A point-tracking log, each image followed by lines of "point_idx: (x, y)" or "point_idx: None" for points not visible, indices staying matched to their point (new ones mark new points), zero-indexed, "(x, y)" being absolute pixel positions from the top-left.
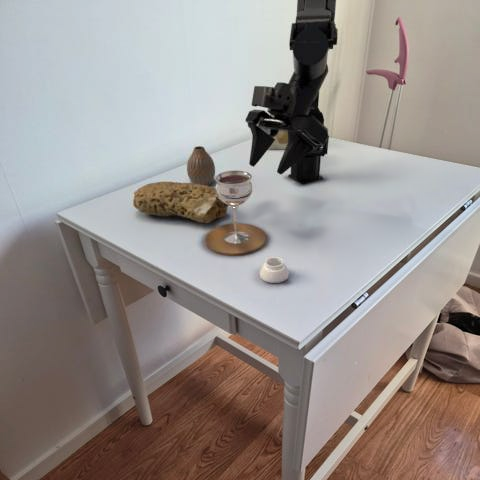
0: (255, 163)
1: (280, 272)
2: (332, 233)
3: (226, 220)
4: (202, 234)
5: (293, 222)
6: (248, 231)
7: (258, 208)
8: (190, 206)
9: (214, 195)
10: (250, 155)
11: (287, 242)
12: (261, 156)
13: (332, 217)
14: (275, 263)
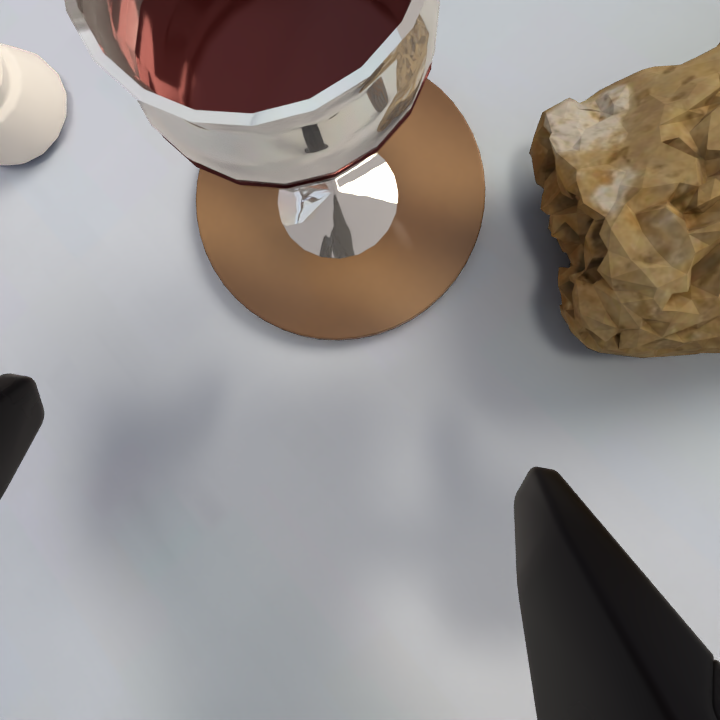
0: (518, 532)
1: None
2: (52, 547)
3: (527, 299)
4: (500, 120)
5: (254, 514)
6: (334, 276)
7: (505, 517)
8: (670, 72)
9: (626, 210)
10: (612, 540)
11: (150, 344)
12: (530, 658)
13: (145, 686)
14: (25, 137)
